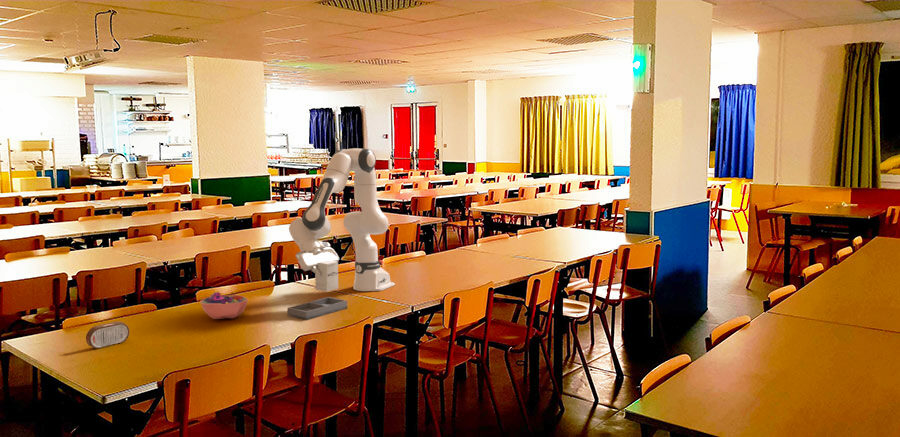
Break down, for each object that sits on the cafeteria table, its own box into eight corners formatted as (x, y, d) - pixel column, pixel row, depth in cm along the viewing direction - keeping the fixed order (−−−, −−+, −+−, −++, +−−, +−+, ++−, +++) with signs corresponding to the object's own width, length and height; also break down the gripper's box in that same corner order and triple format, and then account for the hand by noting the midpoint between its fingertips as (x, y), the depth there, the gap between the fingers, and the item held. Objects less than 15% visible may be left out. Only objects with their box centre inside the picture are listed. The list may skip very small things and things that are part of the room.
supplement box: (326, 292, 295) (326, 263, 294) (315, 289, 300) (314, 261, 298) (339, 289, 301) (338, 261, 300) (327, 286, 306) (326, 259, 304)
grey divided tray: (328, 304, 310) (328, 297, 309) (347, 308, 303) (347, 300, 302) (287, 315, 291) (287, 307, 290) (306, 320, 284) (306, 312, 283)
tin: (127, 340, 258) (125, 318, 257) (131, 341, 256) (129, 320, 255) (86, 350, 247) (84, 327, 246) (90, 351, 245) (88, 329, 244)
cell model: (236, 325, 278) (235, 298, 276) (192, 322, 281) (191, 296, 280) (256, 314, 294) (255, 288, 293) (214, 312, 298) (213, 287, 297)
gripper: (297, 248, 294) (313, 273, 289) (331, 242, 310) (347, 265, 305) (290, 257, 297) (306, 282, 292) (325, 250, 313) (340, 274, 309)
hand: (327, 273), depth 299 cm, fingers closed on supplement box, 7 cm apart
